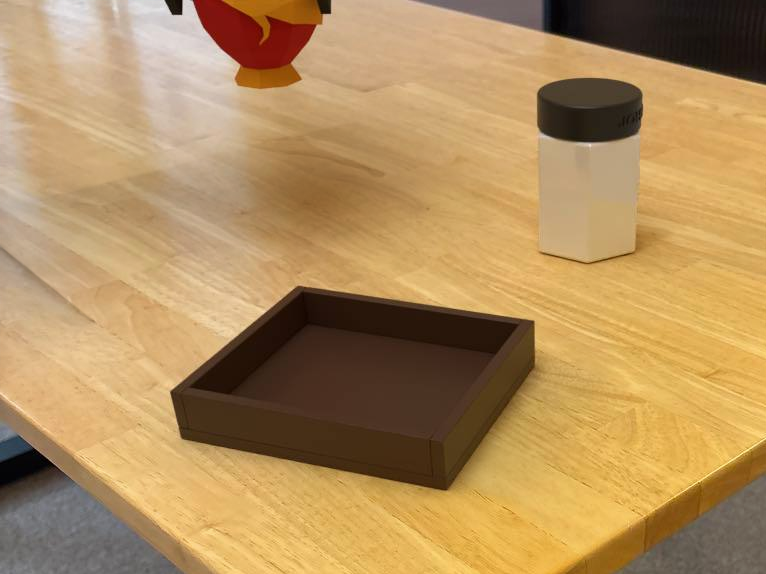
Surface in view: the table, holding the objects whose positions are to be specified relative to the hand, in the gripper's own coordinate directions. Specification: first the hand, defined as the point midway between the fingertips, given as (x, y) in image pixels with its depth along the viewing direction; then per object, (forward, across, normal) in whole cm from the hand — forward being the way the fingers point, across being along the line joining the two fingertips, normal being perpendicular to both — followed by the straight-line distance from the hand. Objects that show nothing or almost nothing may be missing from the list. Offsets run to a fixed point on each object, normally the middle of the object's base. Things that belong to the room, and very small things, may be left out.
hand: (247, 3), depth 78 cm
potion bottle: (+2, 0, -6) cm, 7 cm away
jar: (+13, -25, -13) cm, 31 cm away
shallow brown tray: (+31, -9, +5) cm, 32 cm away
